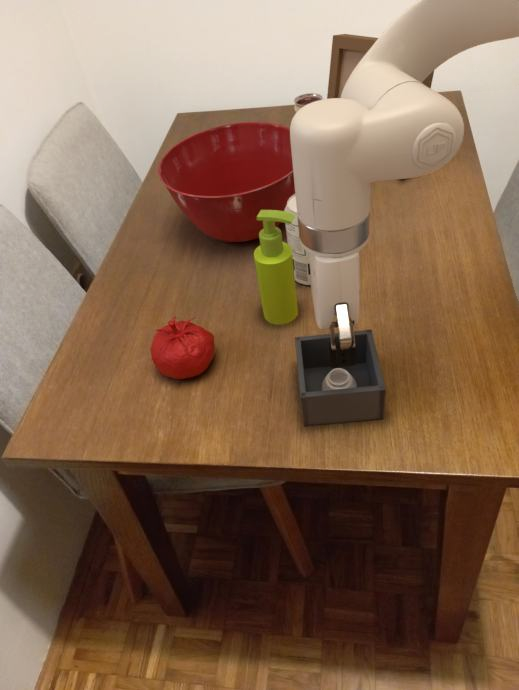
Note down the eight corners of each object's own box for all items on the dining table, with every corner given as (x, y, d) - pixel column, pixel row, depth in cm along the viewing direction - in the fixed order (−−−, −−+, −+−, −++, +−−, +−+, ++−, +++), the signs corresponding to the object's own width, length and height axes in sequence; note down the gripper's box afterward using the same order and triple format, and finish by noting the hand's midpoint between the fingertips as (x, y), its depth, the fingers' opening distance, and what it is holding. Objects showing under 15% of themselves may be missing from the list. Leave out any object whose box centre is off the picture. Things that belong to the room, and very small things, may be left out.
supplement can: (294, 259, 100) (287, 188, 89) (338, 260, 98) (336, 188, 87) (287, 287, 94) (279, 215, 84) (333, 289, 92) (331, 215, 82)
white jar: (317, 381, 78) (329, 407, 74) (316, 368, 75) (328, 394, 72) (348, 372, 78) (362, 397, 75) (348, 358, 76) (362, 383, 73)
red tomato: (210, 389, 80) (197, 348, 74) (149, 385, 82) (131, 345, 76) (224, 342, 87) (214, 300, 80) (168, 340, 89) (153, 299, 82)
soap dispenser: (298, 329, 87) (287, 227, 72) (259, 323, 89) (241, 222, 75) (308, 306, 90) (299, 204, 76) (270, 300, 93) (255, 200, 78)
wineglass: (292, 153, 129) (287, 103, 120) (306, 140, 132) (303, 91, 124) (316, 157, 126) (313, 107, 117) (330, 145, 129) (328, 95, 120)
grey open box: (371, 329, 75) (294, 337, 76) (385, 389, 67) (300, 397, 68) (370, 361, 80) (298, 368, 81) (383, 421, 72) (303, 428, 73)
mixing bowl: (184, 280, 100) (163, 209, 88) (171, 204, 119) (152, 138, 108) (327, 247, 101) (324, 173, 90) (291, 177, 121) (285, 110, 110)
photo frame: (403, 182, 113) (412, 57, 95) (321, 159, 125) (316, 44, 107) (437, 152, 120) (452, 31, 102) (357, 133, 131) (358, 21, 113)
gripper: (293, 188, 62) (303, 296, 74) (305, 281, 50) (315, 392, 62) (356, 179, 62) (356, 290, 74) (384, 272, 50) (378, 385, 62)
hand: (337, 336), depth 68 cm, fingers open, 9 cm apart
